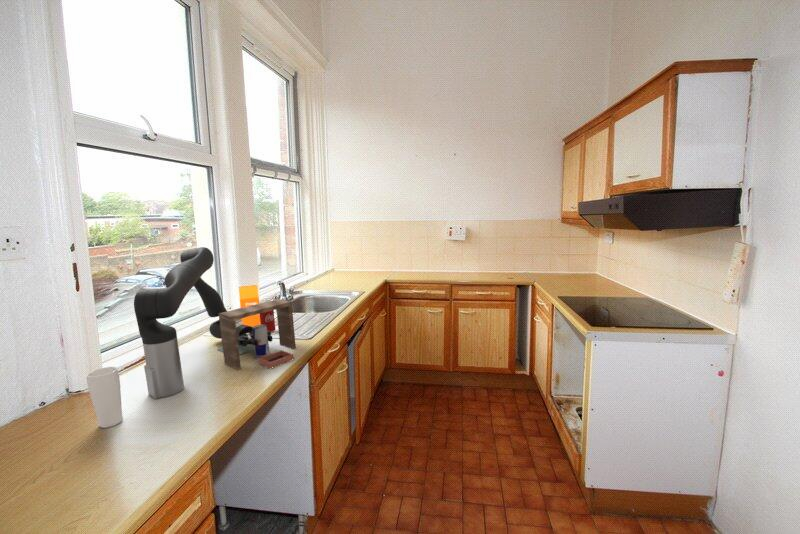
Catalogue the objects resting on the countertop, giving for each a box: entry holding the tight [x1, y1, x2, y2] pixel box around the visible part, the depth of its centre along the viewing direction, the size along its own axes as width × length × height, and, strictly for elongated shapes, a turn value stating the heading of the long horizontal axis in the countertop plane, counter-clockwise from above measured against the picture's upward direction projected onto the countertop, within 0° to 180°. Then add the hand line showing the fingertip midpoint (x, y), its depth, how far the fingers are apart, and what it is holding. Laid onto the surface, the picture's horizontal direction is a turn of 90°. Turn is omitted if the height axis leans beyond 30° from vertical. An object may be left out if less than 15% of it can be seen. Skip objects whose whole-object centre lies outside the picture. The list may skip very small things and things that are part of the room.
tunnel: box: [218, 298, 297, 371], centre depth 149 cm, size 25×9×20 cm, turn 140°
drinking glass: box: [86, 366, 124, 429], centre depth 105 cm, size 7×7×15 cm
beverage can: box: [259, 310, 276, 334], centre depth 179 cm, size 6×6×12 cm
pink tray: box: [257, 349, 295, 369], centre depth 144 cm, size 10×8×2 cm
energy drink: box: [252, 324, 271, 359], centre depth 149 cm, size 5×5×12 cm
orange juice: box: [238, 284, 261, 327], centre depth 191 cm, size 8×9×20 cm
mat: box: [216, 344, 254, 356], centre depth 160 cm, size 14×14×1 cm
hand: (264, 341), depth 147 cm, fingers closed on energy drink, 5 cm apart
